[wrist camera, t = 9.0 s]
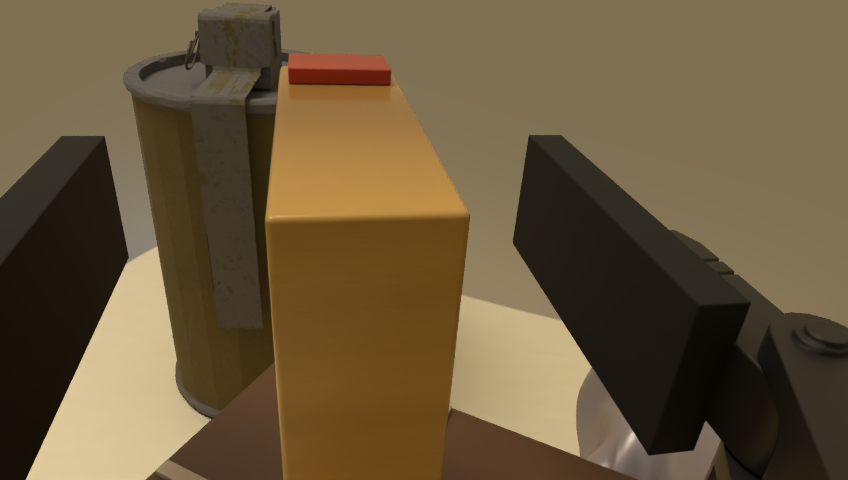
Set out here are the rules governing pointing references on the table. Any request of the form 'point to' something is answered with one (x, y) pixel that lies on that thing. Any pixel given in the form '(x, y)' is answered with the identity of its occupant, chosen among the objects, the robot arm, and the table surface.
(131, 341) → the table surface
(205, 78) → the canister
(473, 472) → the walnut box
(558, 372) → the table surface
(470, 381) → the table surface
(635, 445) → the grey shiny folded piece
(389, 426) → the wooden red-tipped block
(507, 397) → the table surface
